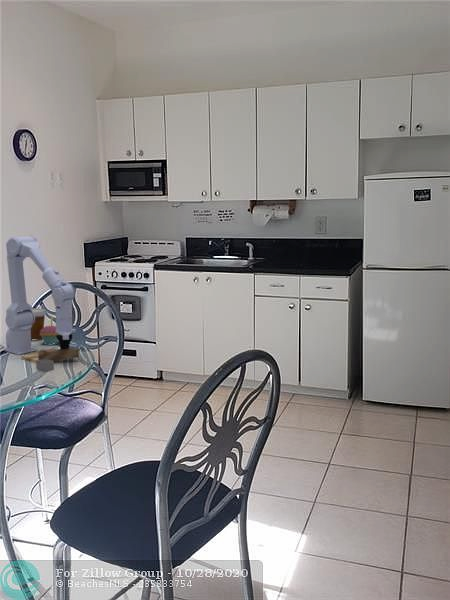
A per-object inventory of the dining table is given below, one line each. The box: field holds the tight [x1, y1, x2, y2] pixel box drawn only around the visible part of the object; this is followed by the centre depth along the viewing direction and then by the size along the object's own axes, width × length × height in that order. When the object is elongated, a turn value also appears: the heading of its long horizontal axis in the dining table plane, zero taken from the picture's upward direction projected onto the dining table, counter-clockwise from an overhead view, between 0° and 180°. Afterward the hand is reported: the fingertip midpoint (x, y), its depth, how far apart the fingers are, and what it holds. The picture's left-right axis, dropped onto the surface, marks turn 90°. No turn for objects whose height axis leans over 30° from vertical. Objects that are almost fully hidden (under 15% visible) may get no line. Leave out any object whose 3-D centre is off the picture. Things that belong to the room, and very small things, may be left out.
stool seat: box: [21, 348, 70, 364], centre depth 226 cm, size 12×14×1 cm
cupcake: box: [40, 314, 60, 345], centre depth 246 cm, size 9×8×12 cm
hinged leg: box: [37, 347, 80, 360], centre depth 220 cm, size 14×3×4 cm, turn 112°
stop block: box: [35, 359, 55, 373], centre depth 212 cm, size 5×4×3 cm
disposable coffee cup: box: [31, 307, 47, 341], centre depth 252 cm, size 10×10×12 cm
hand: (64, 354), depth 223 cm, fingers closed
